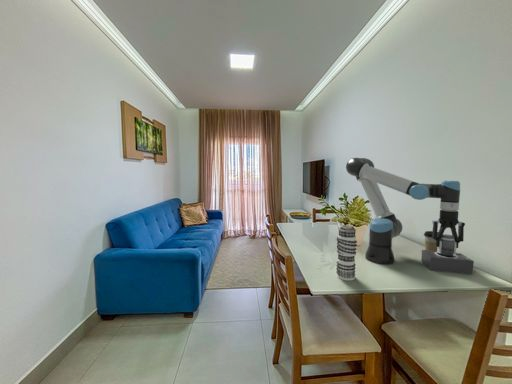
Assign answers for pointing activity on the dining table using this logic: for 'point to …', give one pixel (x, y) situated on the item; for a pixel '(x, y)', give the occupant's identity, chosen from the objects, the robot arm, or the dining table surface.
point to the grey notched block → (447, 262)
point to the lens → (447, 244)
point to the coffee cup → (430, 241)
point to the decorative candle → (346, 253)
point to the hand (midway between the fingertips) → (446, 253)
